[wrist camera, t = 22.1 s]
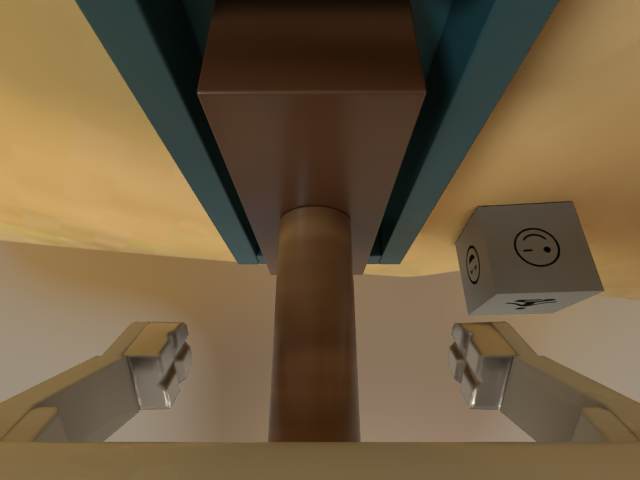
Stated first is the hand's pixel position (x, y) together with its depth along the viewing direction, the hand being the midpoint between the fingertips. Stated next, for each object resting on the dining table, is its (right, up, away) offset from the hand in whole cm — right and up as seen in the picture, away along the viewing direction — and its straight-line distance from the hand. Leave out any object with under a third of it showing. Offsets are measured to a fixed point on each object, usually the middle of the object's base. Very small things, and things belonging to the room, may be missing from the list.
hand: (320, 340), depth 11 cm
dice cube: (+12, +4, +11) cm, 16 cm away
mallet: (0, +7, +3) cm, 7 cm away
